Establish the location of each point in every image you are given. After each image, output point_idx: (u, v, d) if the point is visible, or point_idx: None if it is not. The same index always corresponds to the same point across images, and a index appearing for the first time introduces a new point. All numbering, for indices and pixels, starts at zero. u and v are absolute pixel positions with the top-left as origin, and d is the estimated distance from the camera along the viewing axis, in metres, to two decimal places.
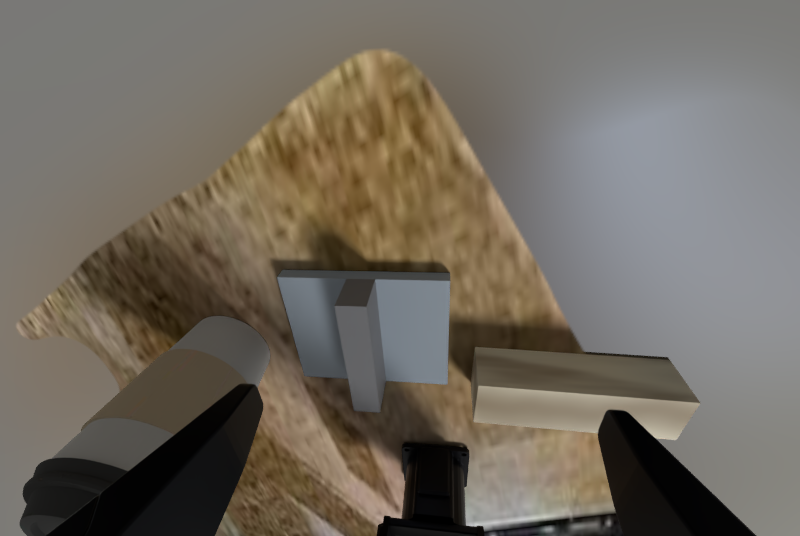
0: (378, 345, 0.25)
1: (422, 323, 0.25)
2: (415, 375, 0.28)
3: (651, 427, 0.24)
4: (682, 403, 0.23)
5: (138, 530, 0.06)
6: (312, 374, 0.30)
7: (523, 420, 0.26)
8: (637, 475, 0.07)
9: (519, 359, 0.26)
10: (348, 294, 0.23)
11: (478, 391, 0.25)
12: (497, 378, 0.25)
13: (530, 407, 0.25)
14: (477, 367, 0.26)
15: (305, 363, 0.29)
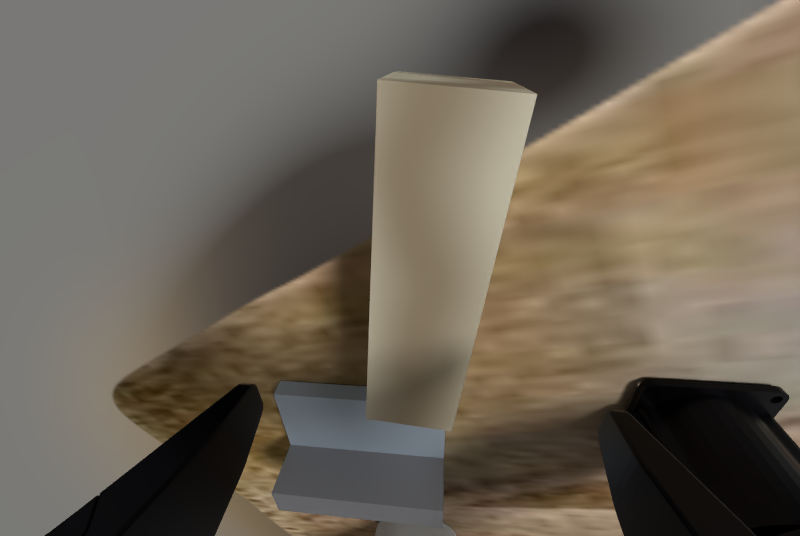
0: (360, 469, 0.22)
1: (339, 419, 0.21)
2: (430, 433, 0.21)
3: (475, 170, 0.10)
4: (383, 121, 0.09)
5: (138, 530, 0.06)
6: None
7: (447, 377, 0.14)
8: (637, 475, 0.07)
9: None
10: None
11: (378, 419, 0.16)
12: None
13: (410, 368, 0.14)
14: None
15: None
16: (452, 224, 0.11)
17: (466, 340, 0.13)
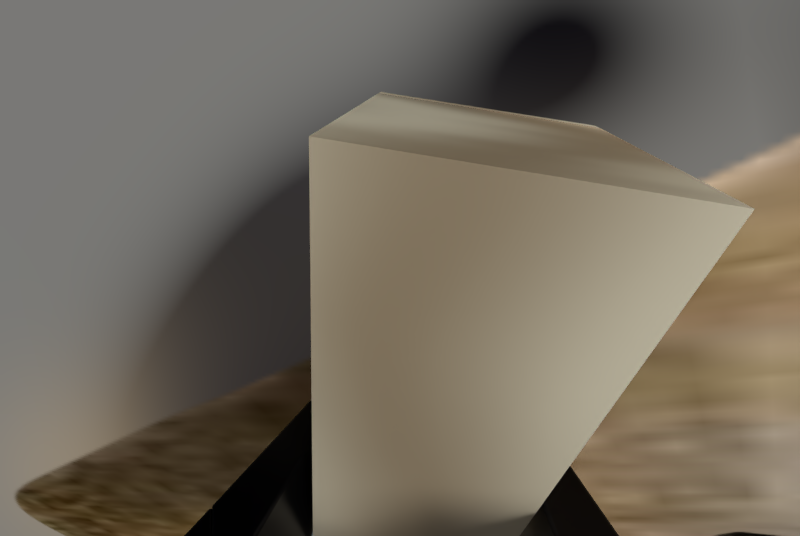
0: None
1: None
2: None
3: (545, 349, 0.04)
4: (330, 233, 0.04)
5: None
6: None
7: None
8: None
9: None
10: None
11: None
12: None
13: None
14: None
15: None
16: (476, 429, 0.05)
17: None
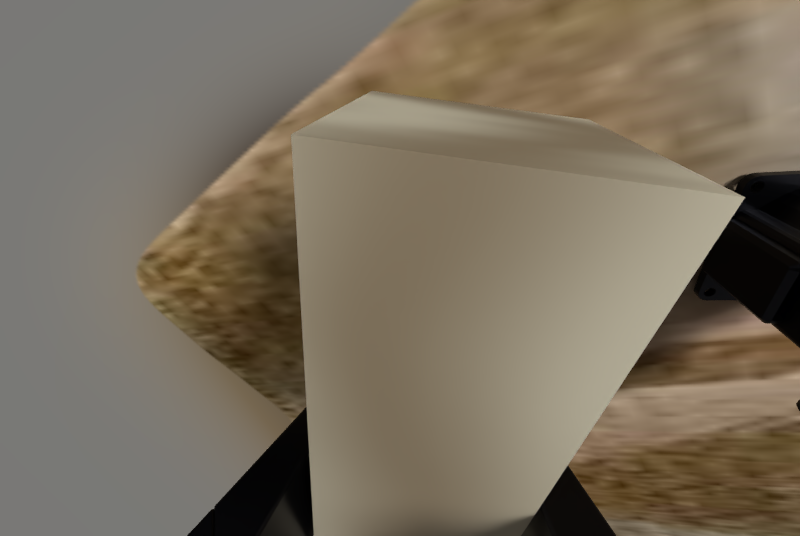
0: None
1: None
2: None
3: (537, 345, 0.04)
4: (317, 232, 0.04)
5: None
6: None
7: None
8: None
9: None
10: None
11: None
12: None
13: None
14: None
15: None
16: (473, 427, 0.05)
17: None
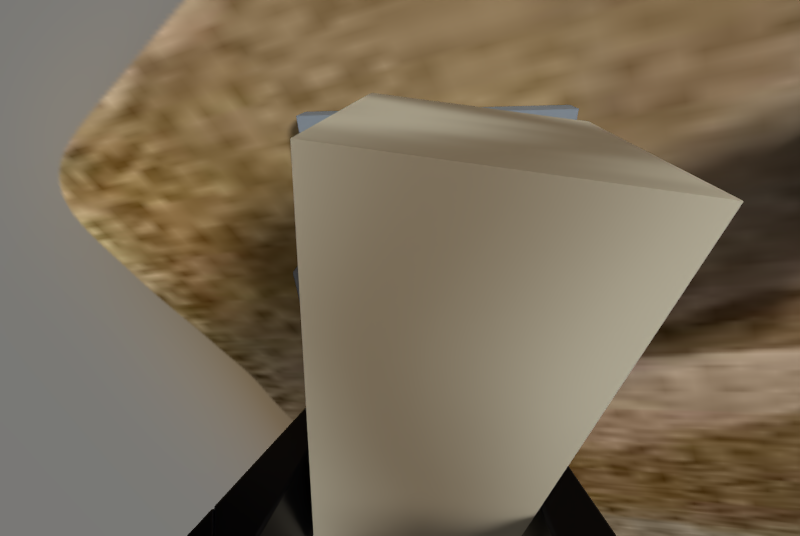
0: None
1: None
2: None
3: (537, 347, 0.04)
4: (316, 235, 0.04)
5: None
6: None
7: None
8: None
9: None
10: None
11: None
12: None
13: None
14: None
15: None
16: (472, 430, 0.05)
17: None
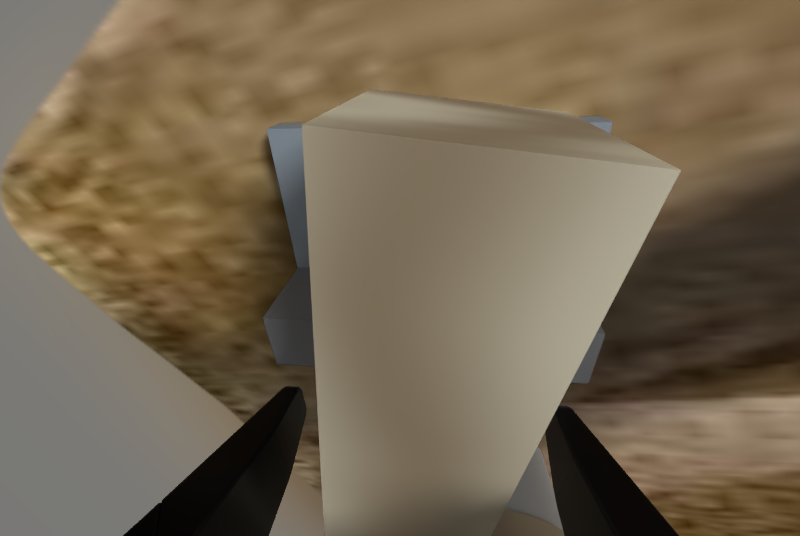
0: None
1: None
2: None
3: (517, 307, 0.05)
4: (323, 209, 0.04)
5: None
6: None
7: None
8: (571, 469, 0.07)
9: None
10: None
11: None
12: None
13: None
14: None
15: None
16: (464, 387, 0.06)
17: (480, 529, 0.08)
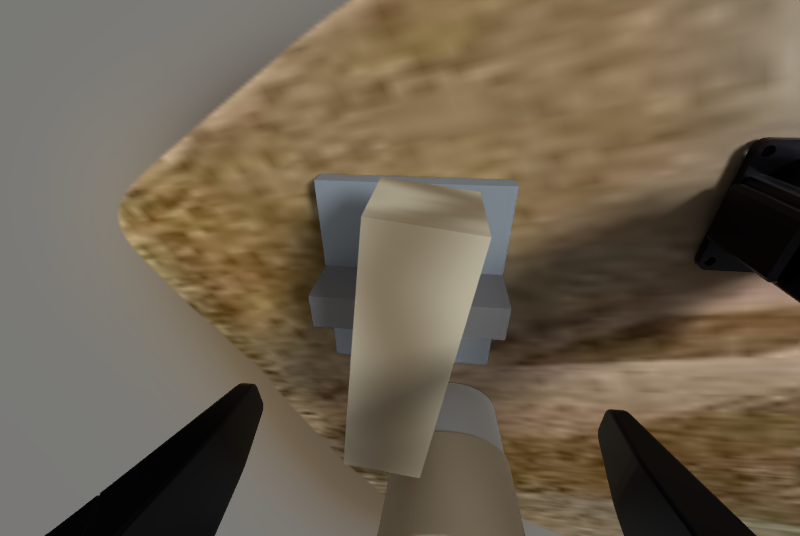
0: None
1: None
2: (493, 234, 0.18)
3: (441, 285, 0.12)
4: (365, 244, 0.11)
5: (138, 530, 0.06)
6: (484, 356, 0.23)
7: (416, 436, 0.16)
8: (637, 475, 0.07)
9: None
10: None
11: (354, 465, 0.18)
12: None
13: (384, 426, 0.16)
14: None
15: (463, 358, 0.23)
16: (421, 322, 0.13)
17: (433, 408, 0.15)
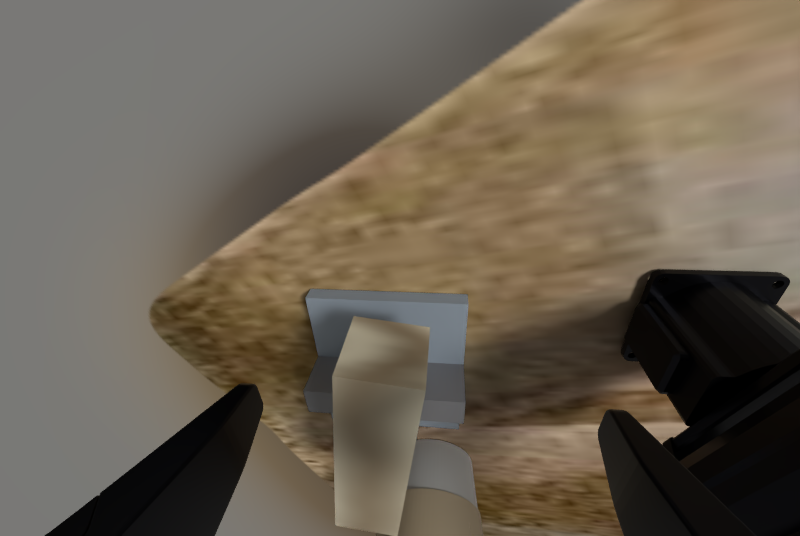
0: None
1: None
2: (452, 336, 0.22)
3: (394, 416, 0.16)
4: (337, 391, 0.16)
5: (138, 530, 0.06)
6: (455, 422, 0.27)
7: (390, 508, 0.20)
8: (637, 475, 0.07)
9: None
10: None
11: (344, 526, 0.22)
12: None
13: (364, 501, 0.20)
14: None
15: (438, 424, 0.27)
16: (383, 437, 0.17)
17: (400, 490, 0.19)
